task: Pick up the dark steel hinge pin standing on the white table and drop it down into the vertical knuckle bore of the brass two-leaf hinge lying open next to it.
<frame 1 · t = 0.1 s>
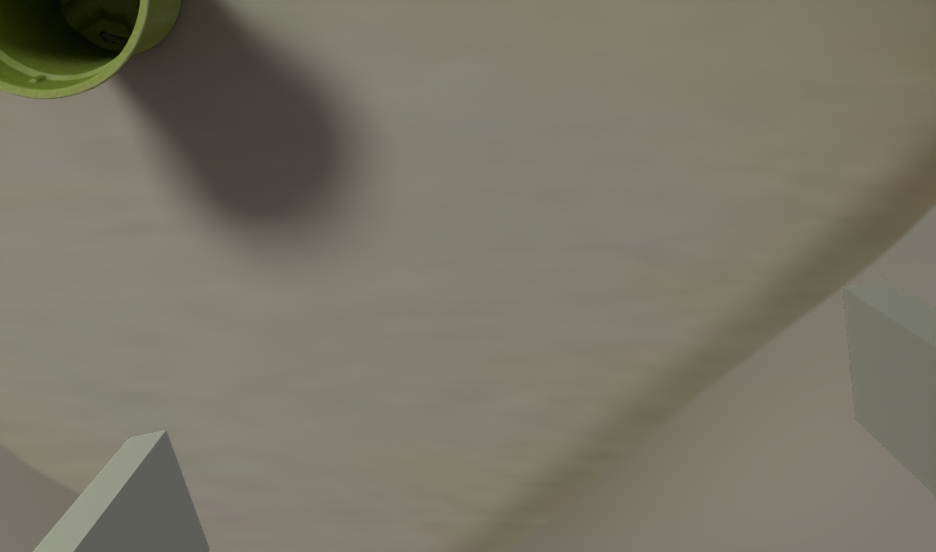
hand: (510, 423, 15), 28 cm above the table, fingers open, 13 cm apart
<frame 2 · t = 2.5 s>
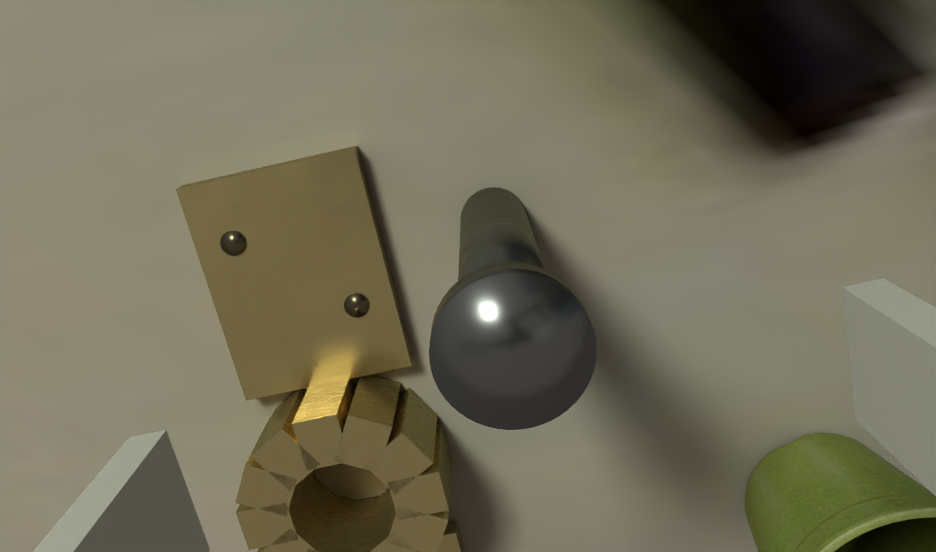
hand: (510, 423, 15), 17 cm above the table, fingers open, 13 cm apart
pin: (493, 220, 32), on the table
plant pot: (809, 490, 35), on the table
hinge: (356, 458, 35), on the table
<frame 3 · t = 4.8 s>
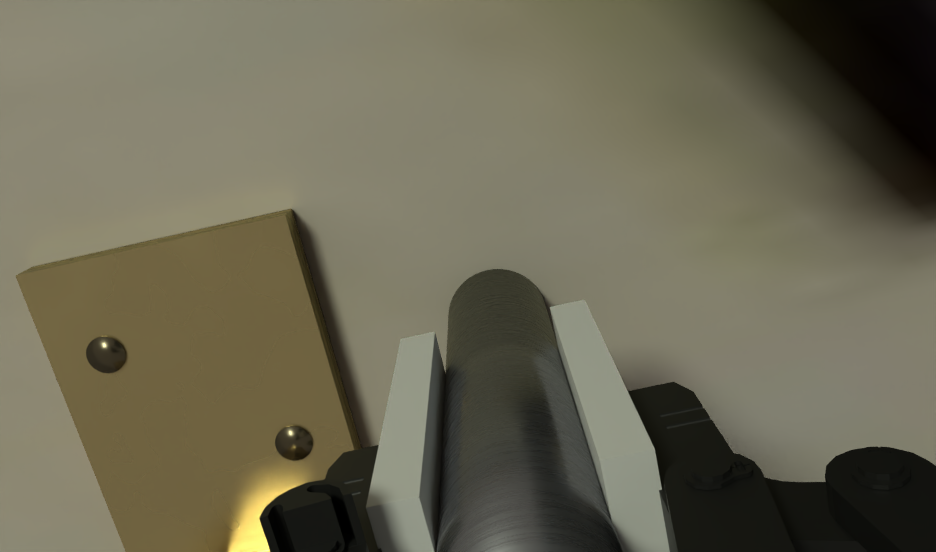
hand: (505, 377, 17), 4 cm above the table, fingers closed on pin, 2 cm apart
pin: (497, 316, 21), on the table, touching gripper
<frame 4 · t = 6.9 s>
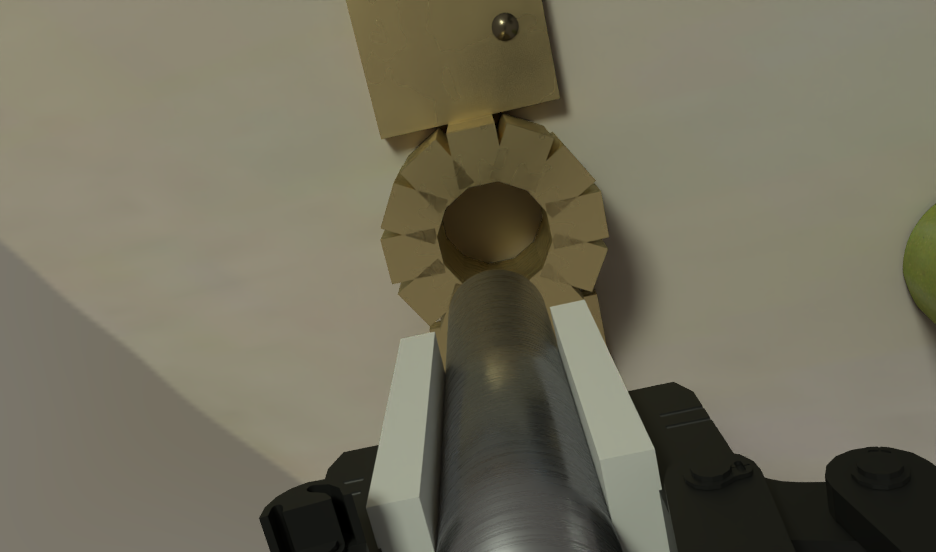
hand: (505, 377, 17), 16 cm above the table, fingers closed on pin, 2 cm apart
pin: (497, 316, 21), point 12 cm above the table, touching gripper
hinge: (491, 214, 33), on the table
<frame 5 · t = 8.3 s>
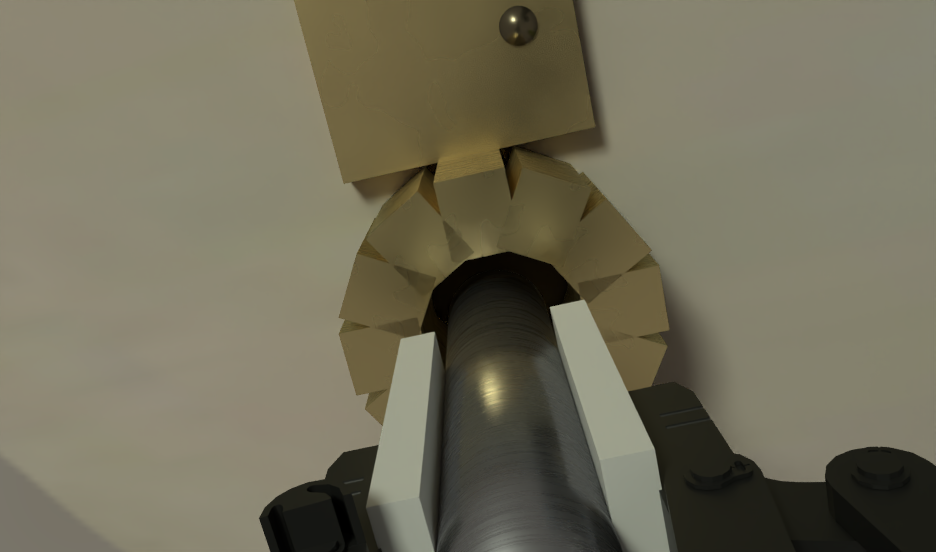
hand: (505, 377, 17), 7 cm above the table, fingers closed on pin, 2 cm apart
pin: (497, 316, 21), point 3 cm above the table, touching gripper
hinge: (497, 284, 24), on the table
when the fingers open (5 cm above the table, at t = 9.3 s): pin drops 1 cm, resting in hinge.
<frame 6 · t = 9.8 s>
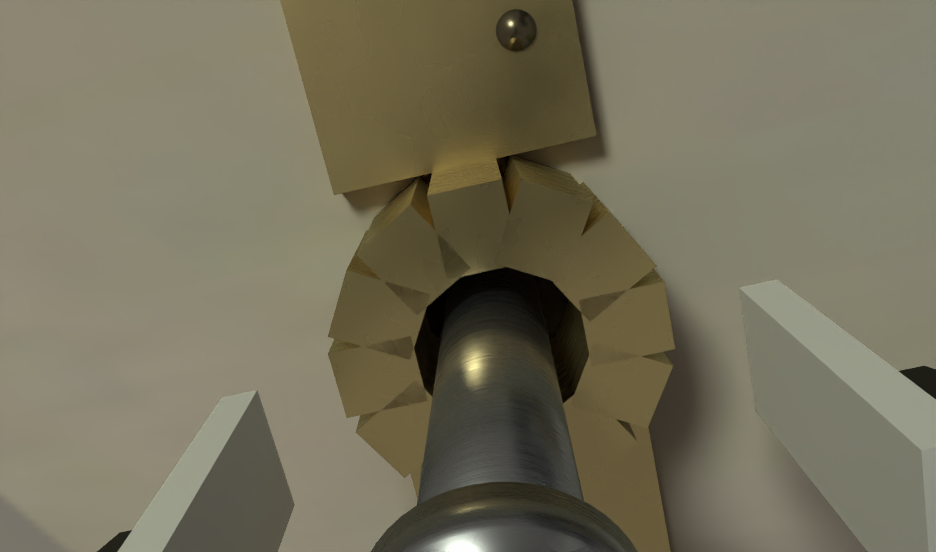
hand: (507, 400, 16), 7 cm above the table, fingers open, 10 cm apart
pin: (493, 299, 23), resting in hinge
hinge: (495, 299, 23), on the table
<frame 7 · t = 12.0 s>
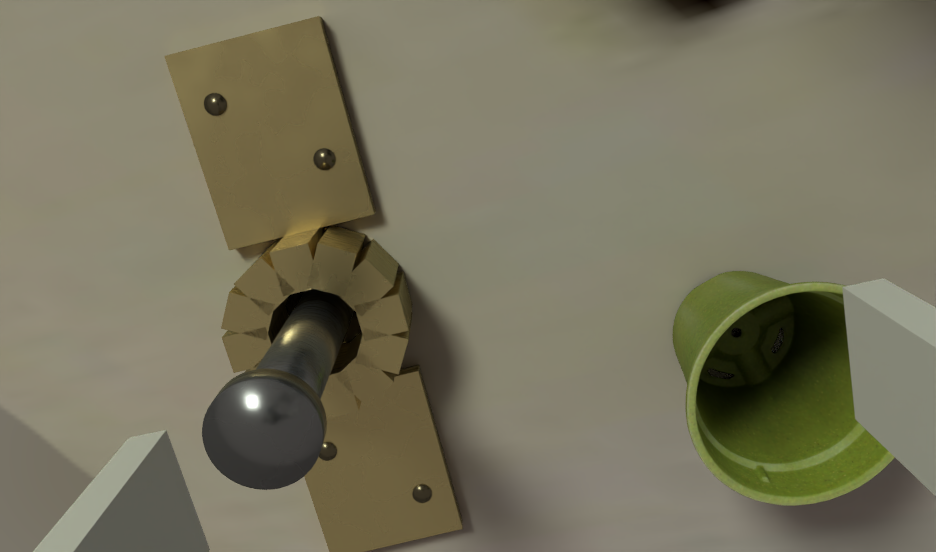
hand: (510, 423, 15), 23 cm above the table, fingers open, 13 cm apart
pin: (327, 307, 39), resting in hinge
plant pot: (729, 327, 40), on the table
hinge: (328, 307, 39), on the table
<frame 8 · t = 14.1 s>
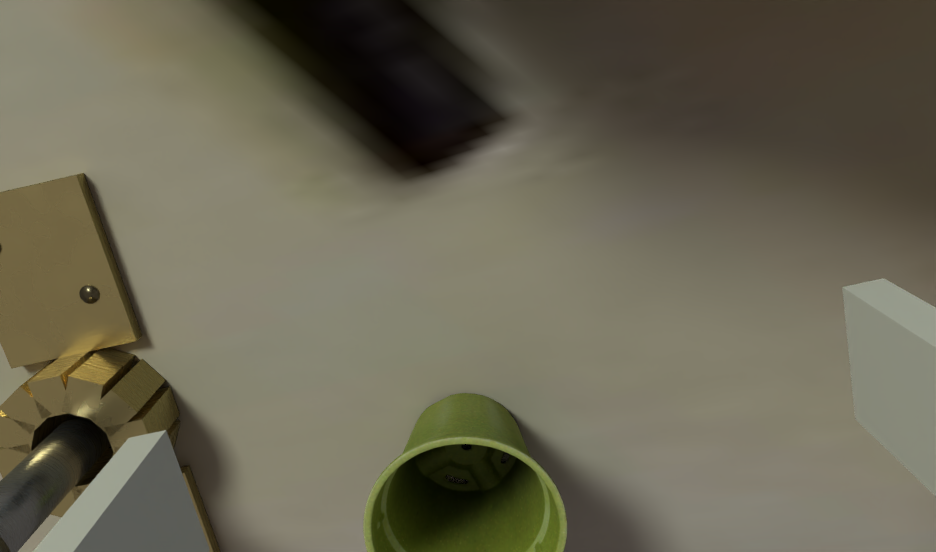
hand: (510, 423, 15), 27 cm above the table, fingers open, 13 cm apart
pin: (104, 414, 44), resting in hinge
plant pot: (464, 439, 45), on the table
hinge: (105, 415, 44), on the table
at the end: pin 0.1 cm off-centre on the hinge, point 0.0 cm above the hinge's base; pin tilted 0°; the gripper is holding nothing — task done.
